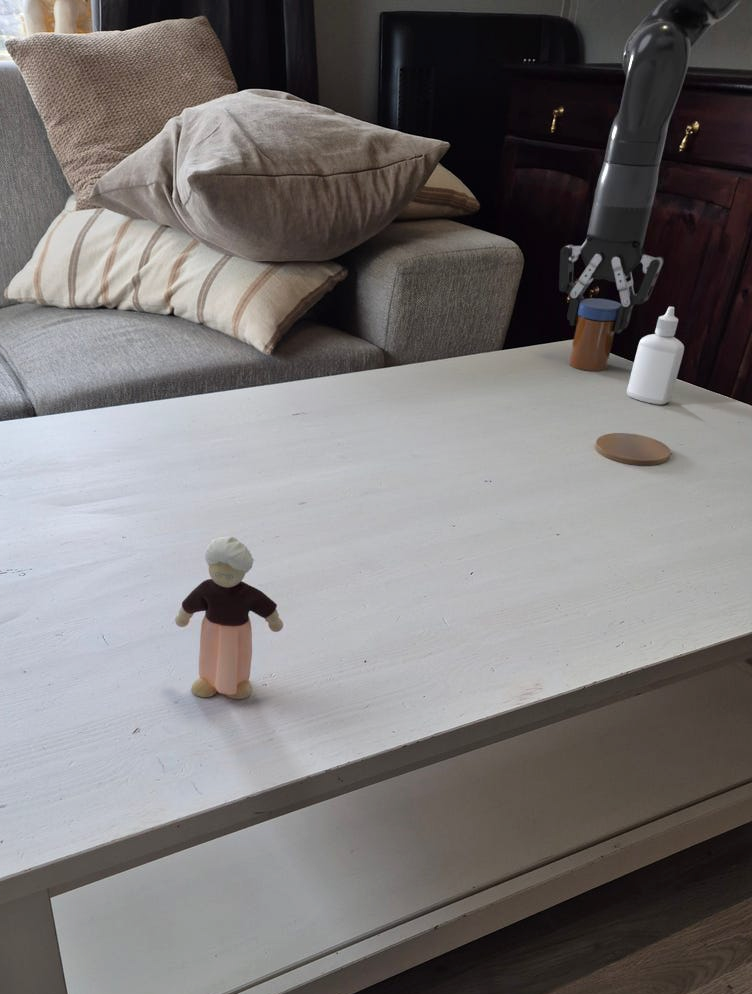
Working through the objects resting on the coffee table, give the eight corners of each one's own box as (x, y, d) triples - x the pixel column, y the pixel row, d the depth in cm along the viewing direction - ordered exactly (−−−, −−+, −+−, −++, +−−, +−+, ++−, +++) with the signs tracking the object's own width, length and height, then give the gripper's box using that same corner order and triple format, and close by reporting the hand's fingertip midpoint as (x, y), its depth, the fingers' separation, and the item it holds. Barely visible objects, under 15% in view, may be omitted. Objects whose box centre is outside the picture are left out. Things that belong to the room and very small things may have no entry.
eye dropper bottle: (645, 407, 121) (670, 314, 114) (621, 393, 126) (643, 302, 119) (674, 404, 122) (700, 312, 115) (649, 390, 127) (672, 300, 120)
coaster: (645, 435, 113) (647, 431, 113) (683, 463, 106) (685, 458, 106) (582, 439, 111) (583, 434, 111) (616, 467, 105) (617, 462, 104)
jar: (595, 358, 138) (608, 301, 133) (613, 370, 134) (627, 311, 129) (562, 360, 137) (574, 302, 132) (579, 371, 133) (591, 312, 128)
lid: (607, 309, 134) (610, 297, 133) (627, 320, 130) (630, 308, 129) (570, 310, 133) (572, 298, 132) (589, 321, 129) (591, 309, 128)
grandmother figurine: (178, 706, 67) (171, 553, 60) (177, 675, 70) (171, 526, 63) (282, 701, 68) (288, 550, 61) (277, 671, 71) (282, 523, 64)
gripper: (685, 203, 122) (653, 331, 132) (580, 190, 129) (556, 314, 138) (671, 210, 117) (638, 343, 127) (561, 197, 124) (538, 325, 133)
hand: (595, 327), depth 132 cm, fingers closed on lid, 5 cm apart
